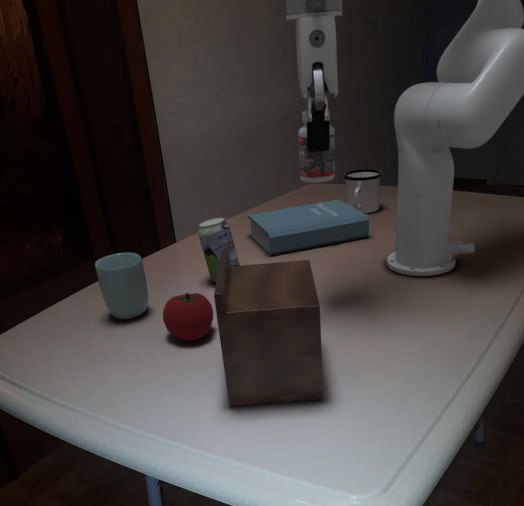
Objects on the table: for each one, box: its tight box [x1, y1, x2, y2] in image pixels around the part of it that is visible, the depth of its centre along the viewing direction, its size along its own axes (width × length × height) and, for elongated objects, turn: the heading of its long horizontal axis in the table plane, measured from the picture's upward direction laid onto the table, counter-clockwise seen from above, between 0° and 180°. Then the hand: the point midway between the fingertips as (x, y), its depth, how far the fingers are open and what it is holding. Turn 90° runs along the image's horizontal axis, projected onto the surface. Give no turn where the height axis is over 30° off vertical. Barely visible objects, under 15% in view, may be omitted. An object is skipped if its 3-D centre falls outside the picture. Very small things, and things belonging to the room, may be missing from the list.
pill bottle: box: [297, 109, 336, 183], centre depth 83 cm, size 5×5×10 cm
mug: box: [342, 168, 383, 215], centre depth 139 cm, size 12×10×9 cm
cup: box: [94, 252, 149, 320], centre depth 96 cm, size 8×8×10 cm
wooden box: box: [213, 250, 324, 407], centre depth 73 cm, size 12×15×16 cm
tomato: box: [162, 292, 214, 341], centre depth 87 cm, size 8×8×7 cm
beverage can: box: [197, 217, 241, 283], centre depth 105 cm, size 6×7×12 cm
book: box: [247, 199, 370, 256], centre depth 125 cm, size 23×16×5 cm
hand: (316, 146), depth 83 cm, fingers closed on pill bottle, 5 cm apart
